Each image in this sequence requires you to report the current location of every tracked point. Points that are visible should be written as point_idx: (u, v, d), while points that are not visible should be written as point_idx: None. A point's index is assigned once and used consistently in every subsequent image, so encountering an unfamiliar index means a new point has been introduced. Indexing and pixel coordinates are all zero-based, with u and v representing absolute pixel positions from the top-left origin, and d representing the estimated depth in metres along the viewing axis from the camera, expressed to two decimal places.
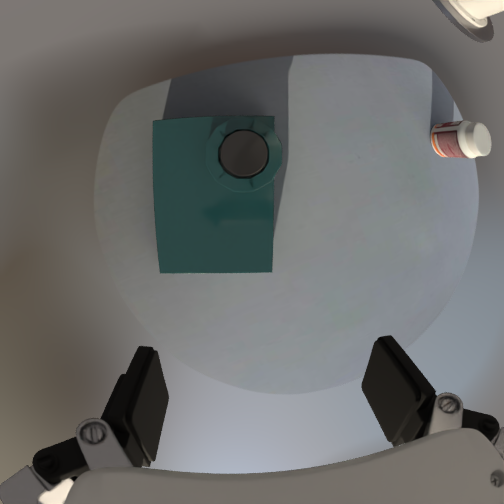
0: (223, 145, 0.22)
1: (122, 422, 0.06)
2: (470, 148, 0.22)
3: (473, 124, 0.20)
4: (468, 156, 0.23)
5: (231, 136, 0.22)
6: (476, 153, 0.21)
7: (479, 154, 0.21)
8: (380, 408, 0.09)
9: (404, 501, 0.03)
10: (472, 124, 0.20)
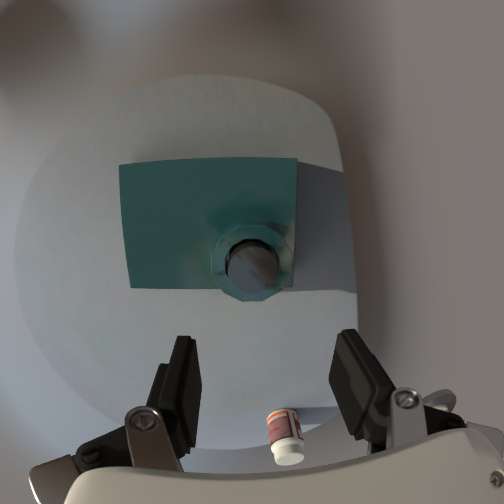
0: (261, 249, 0.21)
1: (173, 407, 0.07)
2: (279, 449, 0.29)
3: (301, 451, 0.28)
4: (271, 447, 0.30)
5: (271, 257, 0.22)
6: (276, 455, 0.28)
7: (275, 457, 0.28)
8: (343, 401, 0.10)
9: (404, 501, 0.03)
10: (301, 450, 0.28)
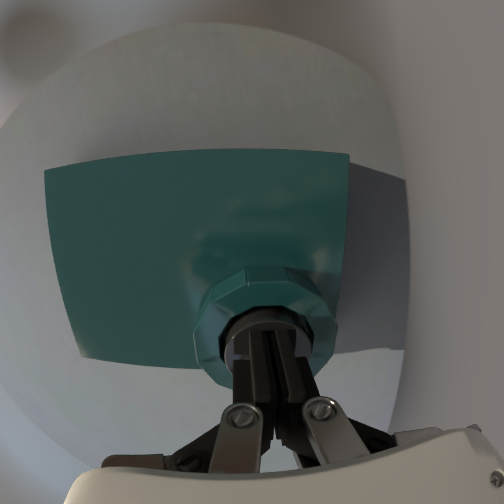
0: (285, 325, 0.11)
1: (270, 399, 0.07)
2: None
3: None
4: None
5: (302, 336, 0.11)
6: None
7: None
8: None
9: (404, 501, 0.03)
10: None
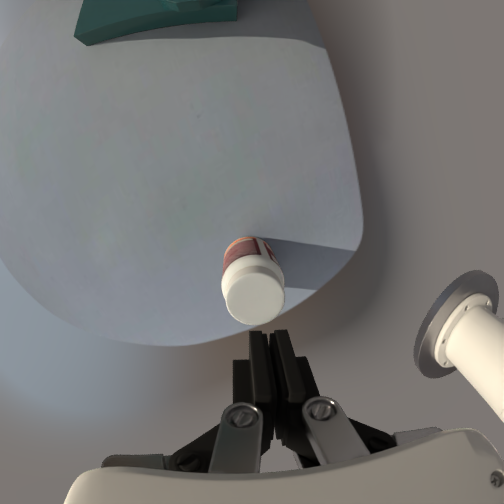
0: None
1: (270, 399, 0.07)
2: (233, 275, 0.19)
3: (277, 278, 0.18)
4: (222, 281, 0.20)
5: None
6: (226, 288, 0.18)
7: (226, 293, 0.18)
8: None
9: (404, 501, 0.03)
10: (277, 277, 0.18)
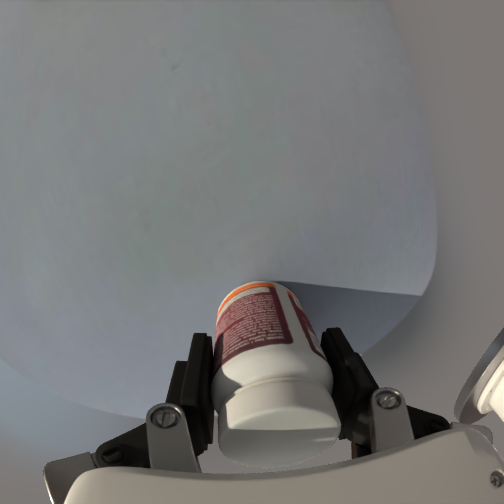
0: None
1: (195, 403, 0.07)
2: (233, 396, 0.08)
3: (330, 405, 0.07)
4: (211, 390, 0.09)
5: None
6: (220, 420, 0.07)
7: (219, 431, 0.07)
8: None
9: (404, 501, 0.03)
10: (328, 401, 0.07)
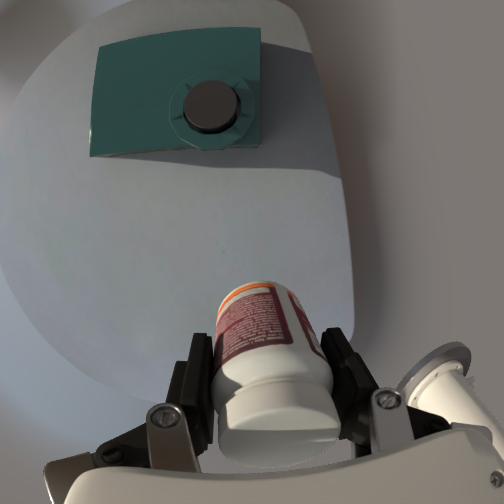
0: (219, 82, 0.17)
1: (195, 403, 0.07)
2: (233, 396, 0.08)
3: (330, 405, 0.07)
4: (211, 390, 0.09)
5: (229, 90, 0.18)
6: (220, 420, 0.07)
7: (219, 432, 0.07)
8: None
9: (404, 501, 0.03)
10: (328, 401, 0.07)
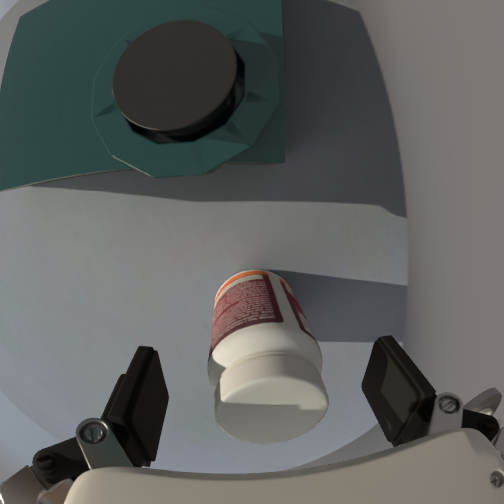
0: (195, 23, 0.06)
1: (122, 422, 0.06)
2: (228, 370, 0.09)
3: (317, 378, 0.08)
4: (209, 367, 0.10)
5: (219, 37, 0.06)
6: (216, 393, 0.08)
7: (215, 404, 0.08)
8: (380, 408, 0.09)
9: (404, 501, 0.03)
10: (316, 374, 0.08)
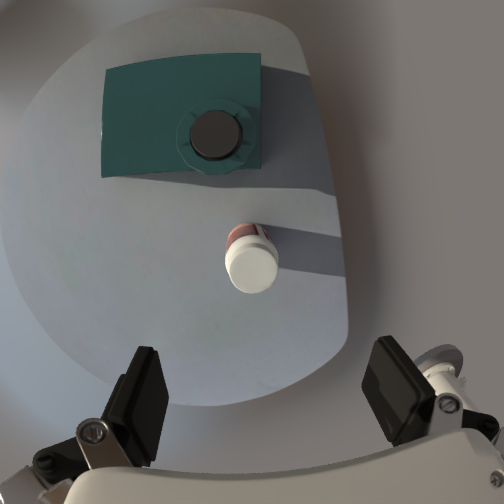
0: (223, 113, 0.20)
1: (122, 422, 0.06)
2: (235, 251, 0.23)
3: (271, 253, 0.22)
4: (226, 257, 0.24)
5: (232, 120, 0.20)
6: (229, 261, 0.22)
7: (229, 265, 0.22)
8: (380, 408, 0.09)
9: (404, 501, 0.03)
10: (271, 252, 0.22)
